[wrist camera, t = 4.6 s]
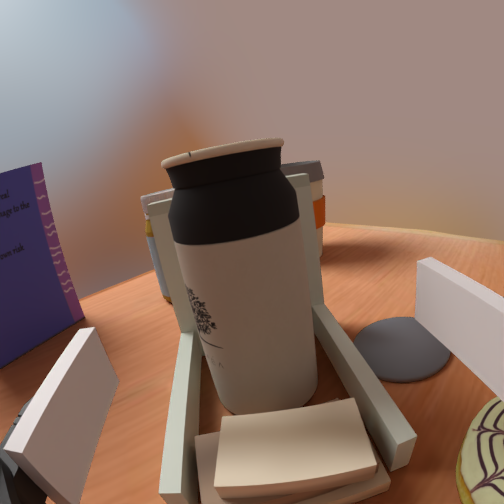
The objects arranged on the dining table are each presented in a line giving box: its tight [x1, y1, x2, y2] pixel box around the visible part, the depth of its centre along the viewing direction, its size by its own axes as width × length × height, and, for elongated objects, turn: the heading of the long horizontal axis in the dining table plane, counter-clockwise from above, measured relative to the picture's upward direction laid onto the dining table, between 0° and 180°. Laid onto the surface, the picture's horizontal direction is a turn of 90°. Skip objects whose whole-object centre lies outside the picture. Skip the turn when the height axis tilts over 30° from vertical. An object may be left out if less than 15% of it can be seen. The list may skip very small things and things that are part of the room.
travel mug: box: [161, 138, 318, 415], centre depth 21 cm, size 8×8×18 cm
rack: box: [147, 173, 417, 504], centre depth 20 cm, size 19×14×15 cm
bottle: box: [141, 188, 175, 303], centre depth 43 cm, size 7×7×15 cm
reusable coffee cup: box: [280, 161, 325, 257], centre depth 50 cm, size 13×13×15 cm
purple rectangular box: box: [0, 162, 85, 369], centre depth 33 cm, size 17×5×24 cm, turn 150°
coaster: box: [353, 317, 451, 383], centre depth 24 cm, size 9×9×1 cm
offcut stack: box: [195, 397, 391, 504], centre depth 14 cm, size 7×10×4 cm, turn 96°
